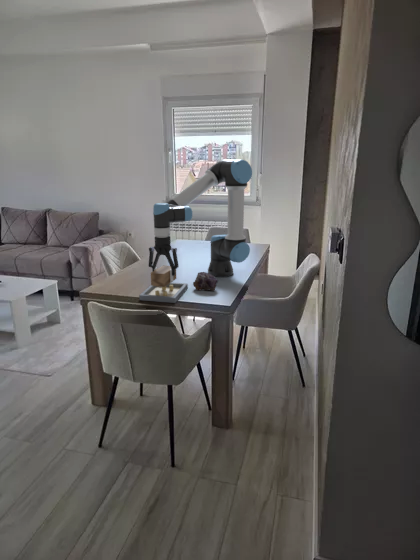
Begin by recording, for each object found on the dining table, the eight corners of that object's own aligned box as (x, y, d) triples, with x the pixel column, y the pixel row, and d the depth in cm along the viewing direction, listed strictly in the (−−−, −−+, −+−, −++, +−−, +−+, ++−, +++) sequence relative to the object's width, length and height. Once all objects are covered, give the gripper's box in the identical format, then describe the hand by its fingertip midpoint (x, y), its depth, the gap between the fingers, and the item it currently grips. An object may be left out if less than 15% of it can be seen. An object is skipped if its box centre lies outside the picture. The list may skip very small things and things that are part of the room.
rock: (212, 295, 193) (218, 288, 202) (214, 280, 190) (220, 274, 199) (191, 289, 196) (197, 283, 205) (193, 274, 193) (200, 268, 202)
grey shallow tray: (187, 288, 200) (187, 282, 199) (175, 302, 180) (175, 296, 179) (155, 285, 204) (155, 280, 203) (139, 300, 183) (139, 294, 182)
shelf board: (176, 278, 195) (176, 266, 193) (164, 287, 182) (163, 274, 181) (164, 277, 197) (163, 265, 195) (151, 285, 185) (150, 272, 183)
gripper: (184, 235, 184) (185, 280, 191) (145, 233, 188) (147, 277, 195) (180, 238, 177) (181, 284, 184) (139, 236, 181) (142, 282, 188)
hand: (164, 281), depth 190 cm, fingers closed on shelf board, 7 cm apart
